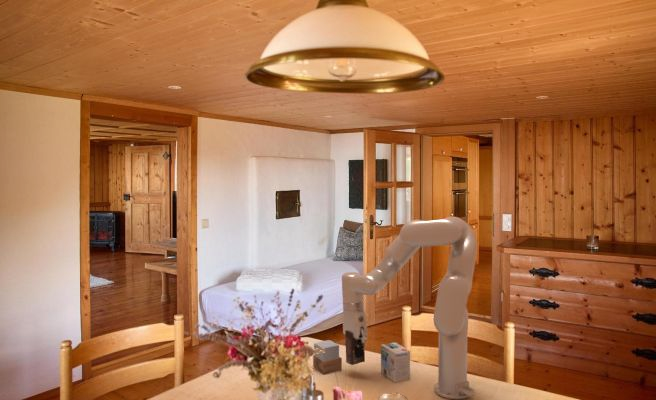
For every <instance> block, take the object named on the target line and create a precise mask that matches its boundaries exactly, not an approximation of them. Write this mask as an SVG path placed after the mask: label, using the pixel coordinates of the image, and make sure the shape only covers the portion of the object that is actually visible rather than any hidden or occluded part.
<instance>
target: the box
mask: <svg viewBox="0 0 656 400" xmlns="http://www.w3.org/2000/svg"><path fill="white" fill-rule="evenodd" d="M344 337H345V360H346V361H345V362H346V363H347V364H348V365H351V366H354V365H357V364H361V363H365V362H366V360H365V359H366V358H365V354H366V352H365V345H364V346H363V356H362V357H358V358H356V357H355V347H356V343H355V338H353V333H351V332H349V331H345V335H344ZM359 337H360V336H359ZM359 341H360V339H359V340H358V342H359Z"/></svg>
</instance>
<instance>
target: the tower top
mask: <svg viewBox="0 0 656 400" xmlns="http://www.w3.org/2000/svg"><path fill="white" fill-rule="evenodd" d="M316 348H324V349H325V353H319V354H315V355H314V354H313V356H315V357H317V358H318V359H320V360H322V361H323V362H324V361H328V360H332V359H337V358H339V357H340V345H339V344H338V343H336V342H334V341H332V340H330V339H327V340H323V341H318V342H314V343H313V350H314V349H316Z"/></svg>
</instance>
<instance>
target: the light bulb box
mask: <svg viewBox="0 0 656 400" xmlns="http://www.w3.org/2000/svg"><path fill="white" fill-rule="evenodd" d="M380 372H381V374H382V375H384V376H386V377H387V378H388V379H390V381H392V382H393V383H398V382H405V381H409V380H411V350H409V349H407V348H406V347H404V346H402V345H401V344H399V343H398V342H396V341H395V342H390V343H383V344H380Z"/></svg>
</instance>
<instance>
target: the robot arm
mask: <svg viewBox="0 0 656 400" xmlns="http://www.w3.org/2000/svg"><path fill="white" fill-rule="evenodd" d="M449 245H450V253H449V255H448V256H449V257H448V265H447V268H446V269H447V270H446V273H445V275H444V276H443V278H441V280H440V281H439V284H438V288H437V294H436V300H435V306H434V312H433V318H432V319H433V325H434V327H435V329H436V331H437V332H438V350H437V351H438V353H437V354H438V355H437V356H438V362H437V363H438V364H437V365H438V369H437V370H438V371H437V372H438V375H437V376H438V378H437V380H438V382H436V383H435V384H434V386H433V391H434V393H435V394H436V395H438V396H439V397H442V398H445V399H451V400H464V399H467V398H471V397H473V394H475V391H476V390H475V389H474V388H472V387H471V386H470V381H468V330H469V311H468V308H467V304H468V303H467V302H468V300H469V299H468V298H469V295H470V293H471V291H472V288H473V278H474V272H475V267H476V266H475V265H476V256H477V249H478V247H477V246H478V244H477V238H476V234H475V232H474V230H473V229H472V227H471V225H470V224H469V223H467V222H466V221H465V220H463V219H462V218H460V217H457V216H447V217H444V218H442V219H433V220H422V219H413V220H410V221H407V222H406V223H404V224H403V225H402V227H401V228H400V231H399V233H398V235H397V236H396V237H395V238H394V240H393V241H392V242H390V244H388V246H387V247H386V250H385V253H384V256H383V257H382V259H381V260H380V261H379V263H378V264H377V265H376V266H375V267H374V268H373V269H372V270H370V271H369V272H368V273H365V274H361V273H360V272H357V271H351V272H350V271H349V272H344V273H343V274H342V275H341V292H342V293H341V294H342V309H343V311H342V334H343V335H344V336H345V331H349V332H351V333H353V338H355V343H356V347H355V357H356V358H358V357H362V356H363V346H364V347H365V343H366V342H367V341H368V338H367V337H368V325H367V317H366V313H365V310H364V295H365V296H373V295H375V294H377V293H378V292H379V291H381V290H383V289H384V288H385V287H386V286H387V285H388V283H389V282H390V281H391V280H392V279H393V278H394V277H395V276H396V275H397V273H398V272H399V271H400V270H401V269H402V268H404V266H405V265H406V264H407V263H408V262H409V260H410V259H411V258H412V257H413V256H414V255H415V253H416V252H417V251H418V250H419V249H420V248H421V247H435V246H436V247H437V246H449ZM359 336H360V337H359ZM359 339H360V341H359V342H358V340H359Z"/></svg>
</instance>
